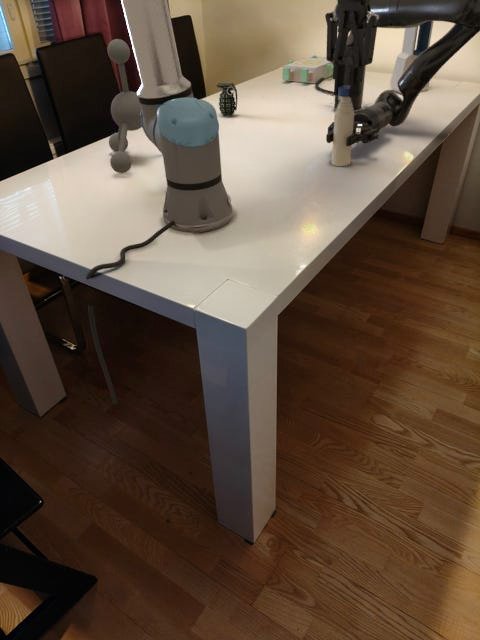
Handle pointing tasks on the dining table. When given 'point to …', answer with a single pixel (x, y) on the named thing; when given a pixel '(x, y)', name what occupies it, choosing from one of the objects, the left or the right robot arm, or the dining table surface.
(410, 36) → the electronic device
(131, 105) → the molecular model
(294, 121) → the dining table surface
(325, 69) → the decorative block
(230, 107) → the grenade
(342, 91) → the cap
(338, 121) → the bottle
